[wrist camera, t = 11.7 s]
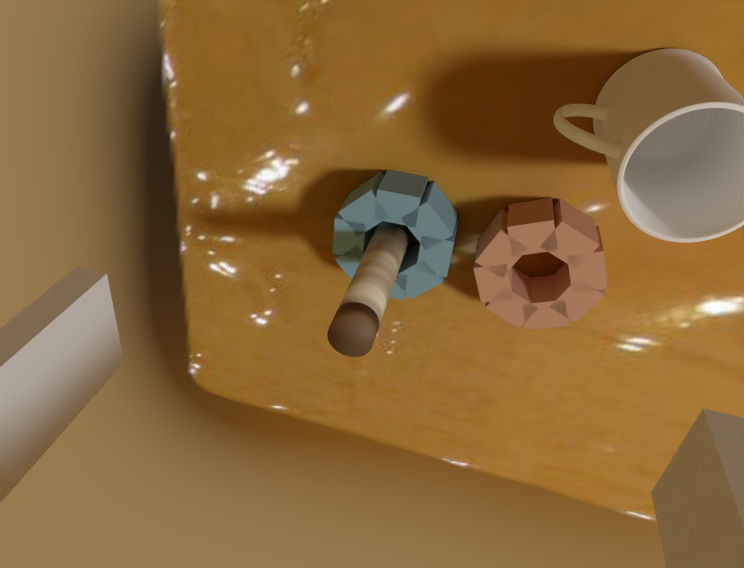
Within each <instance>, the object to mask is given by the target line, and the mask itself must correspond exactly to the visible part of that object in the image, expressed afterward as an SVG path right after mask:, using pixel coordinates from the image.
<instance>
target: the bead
mask: <svg viewBox="0 0 744 568" xmlns="http://www.w3.org/2000/svg"><path fill="white" fill-rule="evenodd" d="M427 180H428V177H423V176H418V175H412V174H407V173H402V172H397V171H391V170H387V172H386V174H385V176H384V175H383V173H382V172H381V171H380V172H379V173H377V174H376V175H374V176H373V177H372V178H370V179H369V180H367V181H366V182H364V183H363V184H361V185H360V186H359V187H357V188H356V189H354V190H353V191H351V192H350V194H349V195H348V197H347V199H346V200H345V202H344V203H343V205H342V207H341V208H340V210H339V211H338V213H337V215H336V217H335V221H334V235H333V249H332V254H337V256H336V258H335V259H334V260H335V261H336V262H337V263H338V264H339V266H340V267H341V268H342V269H343V270H344V271H345V273H346V274H347V275H348V276H349V277H350V278H351V280H352V279H353V276H354V274H355V272H356V270H357V268H358V266H359V264H360V261H361V259H362V257H363V255H364V253H365V251H366V248H367V246H368V244H369V242H370V240H371V238H372V236H373V233H374V230H373V229H374V226H376V225H377V224H379V223H380V222H382V221H386V222H391V223H396V224H401V225H406V226H407V227H408V228H409V230H410V231H411V232H412V233H413V235H414V236H415V237H416V238H417V240H418V241H419V242H420V243H419V244H417V245H415V246H413V247H412V248H410V249H408V250H406V251H405V253H404V256H403V259H402V262H401V265H400V268H399V271H398V273H397V276H396V279H395V282H394V285H393V288H392V290H391V293H390V296H389V297H390V298H395V299H399V300H404V297H405V294H406V295H407V296H408V297H409V299H410V300H411V299H412V298H414V297H416V296H418V295H420V294H422V293H424V292H426V291H428V290H430V289H431V288H433V287H435V286H437V285H439V284H441V283H443V279H444V277H447V274H448V269H449V265H450V260H451V256H452V251H453V246H454V242H455V237H456V232H457V228H458V223H459V219H457V214H458V213H457V211H456V210H455V208H454V207H453V206H452V204H451V203H450V202H449V200H448V199H447V198H446V196H445V195H444V194H443V192H442V191H441V190H440V188H439V187H438V186H437V184H436V183H435V182H432V183H431V184H429V185H428V186H427Z"/></svg>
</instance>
